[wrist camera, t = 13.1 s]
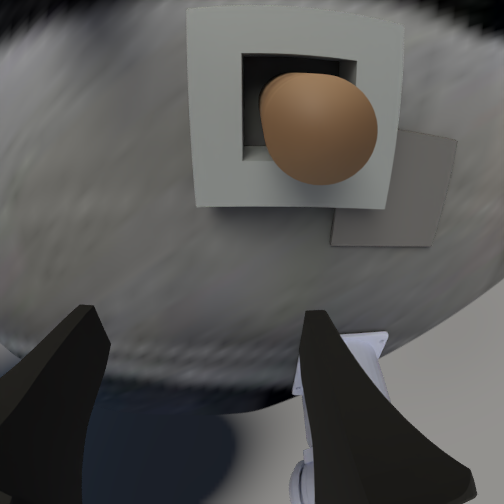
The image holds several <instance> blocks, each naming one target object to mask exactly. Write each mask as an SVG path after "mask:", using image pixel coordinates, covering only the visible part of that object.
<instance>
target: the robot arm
mask: <svg viewBox="0 0 504 504" xmlns="http://www.w3.org/2000/svg"><path fill="white" fill-rule="evenodd" d="M388 336H389V335H388V333H387V332H386V331H381V332H369V333H356V334H339V332H338V331H337V329H336V328H335V326H334V324H333V322H332V321H331V319H330V317H329V315H328V314H327V312H326V311H325V310H312V311H306V312H305V318H304V324H303V330H302V336H301V342H300V348H299V357H298V363H297V368H296V373H295V379H294V384H293V389H292V394H293V395H302V400H303V409H304V418H305V428H306V438H307V442H308V445H309V447H310V448H308V449H305V450H303V454H304V460H302V461H300V462H298V464H297V465H296V467H295V468H294V471H293V472H292V475H291V478H290V483H289V495H290V501H291V504H463V503H465V502H467V501H469V500H472V499H474V498H475V497H476V496H477V491H476V487H475V482H474V479H473V476H472V473H471V470H470V469H469V468H467V467H466V466H464V465H462V464H461V463H459V462H458V461H456V460H455V459H453V458H452V457H450V456H449V455H448V454H446V453H445V452H444V451H442V450H441V449H440V448H438V447H437V446H436V445H435V444H433V443H432V442H431V441H430V440H429V439H427V438H426V437H425V436H424V435H423V434H422V433H420V431H418V430H417V429H416V428H415V427H414V426H413V425H412V424H410V422H408V421H407V420H406V419H405V418H404V417H403V416H402V415H401V414H400V412H399V411H398V410H397V409H396V408H395V407H394V406H393V405H392V404H391V402H390V398H389V395H388V391H387V388H386V384H385V381H384V378H383V375H382V372H381V369H380V365H379V362H378V359H379V356H380V354H381V352H382V350H383V348H384V346H385V343H386V341H387V339H388ZM110 346H111V343H110V341H109V339H108V337H107V334H106V332H105V330H104V328H103V326H102V323H101V321H100V319H99V317H98V314H97V312H96V310H95V307H94V306H93V305H79V306H78V307H77V308H75V309H74V310H73V311H72V312H71V313H70V314H69V315H68V316H67V317H66V318H65V319H64V320H63V321H62V322H61V323H59V324H58V325H57V326H56V327H55V328H54V329H53V330H52V331H51V332H50V333H49V334H48V335H47V336H46V337H45V338H44V339H43V340H42V341H41V342H40V343H39V344H38V345H37V346H36V347H35V348H34V349H33V350H32V351H31V352H30V353H29V354H27V355H26V356H25V357H24V358H23V359H22V360H21V361H20V362H19V363H18V364H17V365H16V366H14V367H13V368H12V369H11V370H10V371H8V372H7V373H6V374H5V375H4V376H2V377H1V378H0V504H82V489H81V487H82V485H81V484H82V462H83V452H84V444H85V438H86V431H87V426H88V422H89V418H90V415H91V412H92V409H93V406H94V402H95V399H96V396H97V393H98V390H99V387H100V384H101V381H102V378H103V375H104V372H105V369H106V365H107V361H108V356H109V351H110Z"/></svg>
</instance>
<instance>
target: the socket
mask: <svg viewBox="0 0 504 504" xmlns="http://www.w3.org/2000/svg"><path fill="white" fill-rule="evenodd" d="M186 22H187V71H188V97H189V117H190V134H191V149H192V163H193V176H194V188H195V200H196V207H244V206H267V207H332V208H362V209H385V205H386V200H387V195H388V190H389V184H390V178H391V172H392V166H393V160H394V153H395V146H396V139H397V131H398V123H399V114H400V104H401V92H402V79H403V61H404V25H402V24H398V23H395V22H391V21H386V20H382V19H378V18H373V17H368V16H363V15H358V14H352V13H346V12H340V11H333V10H325V9H317V8H307V7H295V6H277V5H230V6H212V7H199V8H189V9H186ZM243 56H271V57H295V58H309V59H321V60H330V61H339V62H340V72H339V77H340V78H342V79H345V80H347V81H349V82H350V83H352V84H353V85H355V86H356V87H358V88H359V89H360V90H361V91H362V92H363V93H364V94H365V96H366V97H367V98H368V100H369V101H370V103H371V105H372V107H373V109H374V112H375V115H376V119H377V125H378V134H377V141H376V145H375V148H374V151H373V153H372V155H371V157H370V159H369V160H368V162H367V163H366V164H365V165H364V167H363V168H362V169H361V170H360V171H358V172H357V173H356V174H355V175H353V176H352V177H350V178H348V179H346V180H344V181H342V182H339V183H335V184H330V185H312V184H307V183H303V182H300V181H298V180H296V179H294V178H292V177H290V176H288V175H287V174H286V173H285V172H283V171H282V170H281V169H280V168H279V167H278V166H277V165H276V163H275V162H274V161H273V159H272V157H271V156H270V154H269V152H268V149H267V147H266V146H244V80H243Z"/></svg>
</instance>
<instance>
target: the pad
mask: <svg viewBox="0 0 504 504" xmlns="http://www.w3.org/2000/svg"><path fill="white" fill-rule="evenodd" d="M457 142H458V141H456V140H453V139H449V138H444V137H439V136H434V135H429V134H423V133H417V132H412V131H405V130H399V129H398V131H397V139H396V146H395V153H394V160H393V166H392V172H391V178H390V184H389V190H388V195H387V200H386V205H385V209H362V208H335V209H334V216H333V223H332V231H331V237H330V245H331V246H432V244H433V241H434V238H435V234H436V231H437V228H438V224H439V221H440V217H441V214H442V210H443V206H444V203H445V199H446V195H447V191H448V186H449V182H450V178H451V173H452V168H453V164H454V159H455V153H456V148H457Z"/></svg>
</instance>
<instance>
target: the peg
mask: <svg viewBox="0 0 504 504" xmlns="http://www.w3.org/2000/svg"><path fill="white" fill-rule="evenodd" d="M259 111H260V116H261V122H262V127H263V133H264V139H265V143H266V147H267V149H268V152H269V154H270V156H271V157H272V159H273V161H274V162H275V163H276V165H277V166H278V167H279V168H280V169H281V170H282V171H283V172H285V173H286V174H287V175H288V176H290V177H292V178H294V179H296V180H298V181H300V182H303V183H307V184H312V185H330V184H335V183H339V182H342V181H344V180H346V179H348V178H350V177H352V176H353V175H355V174H356V173H357V172H358V171H360V170H361V169H362V168H363V167H364V165H365V164H366V163H367V162H368V160H369V159H370V157H371V155H372V153H373V151H374V148H375V145H376V141H377V134H378V125H377V119H376V115H375V112H374V109H373V107H372V105H371V103H370V101H369V100H368V98H367V97H366V96H365V94H364V93H363V92H362V91H361V90H360V89H359V88H358V87H356V86H355V85H353V84H352V83H350V82H349V81H347V80H345V79H342V78H340V77H337V76H333V75H326V74H313V73H293V72H289V73H282V74H279V75H277V76H275V77H273V78H271V79H270V80H269V81H268V82H267V83H266V84H265V85H264V87H263V88H262V90H261V92H260V95H259Z"/></svg>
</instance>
